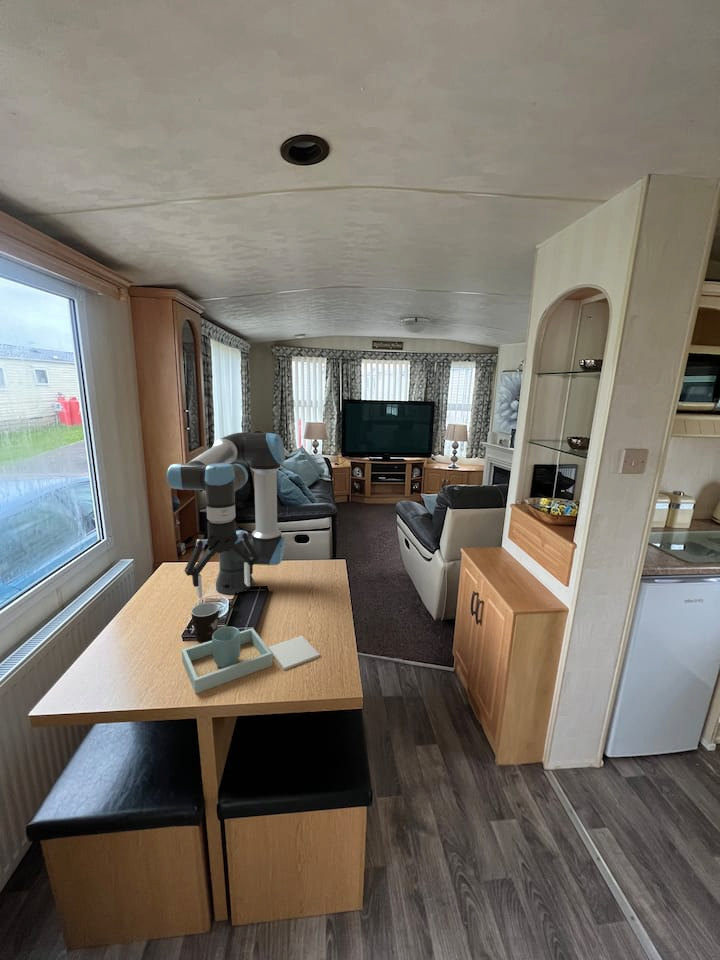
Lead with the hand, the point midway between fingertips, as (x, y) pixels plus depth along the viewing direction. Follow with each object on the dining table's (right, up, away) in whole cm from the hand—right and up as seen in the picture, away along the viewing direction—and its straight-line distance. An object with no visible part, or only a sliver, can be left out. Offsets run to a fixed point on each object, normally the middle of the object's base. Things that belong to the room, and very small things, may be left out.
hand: (224, 590), depth 117 cm
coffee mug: (-13, -21, +17) cm, 30 cm away
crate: (-1, -23, +5) cm, 24 cm away
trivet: (+18, -23, +11) cm, 31 cm away
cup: (-1, -24, +5) cm, 24 cm away
